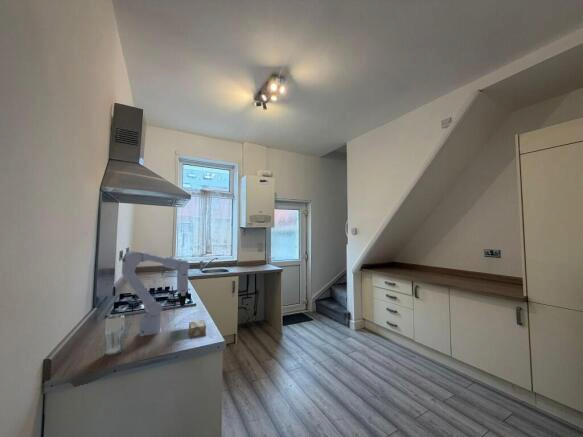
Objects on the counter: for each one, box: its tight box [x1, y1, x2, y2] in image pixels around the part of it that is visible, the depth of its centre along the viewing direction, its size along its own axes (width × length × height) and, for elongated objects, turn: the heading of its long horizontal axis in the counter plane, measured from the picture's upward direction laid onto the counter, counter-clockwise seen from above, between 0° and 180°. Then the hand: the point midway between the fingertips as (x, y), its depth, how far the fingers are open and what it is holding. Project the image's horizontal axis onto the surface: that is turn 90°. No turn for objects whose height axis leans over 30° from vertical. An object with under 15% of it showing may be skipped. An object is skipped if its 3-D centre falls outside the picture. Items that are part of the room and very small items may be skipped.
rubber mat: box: [169, 327, 207, 343], centre depth 124 cm, size 16×14×1 cm
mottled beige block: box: [188, 319, 207, 336], centre depth 126 cm, size 4×9×7 cm
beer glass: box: [104, 313, 126, 356], centre depth 107 cm, size 7×7×15 cm
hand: (182, 305), depth 138 cm, fingers closed
